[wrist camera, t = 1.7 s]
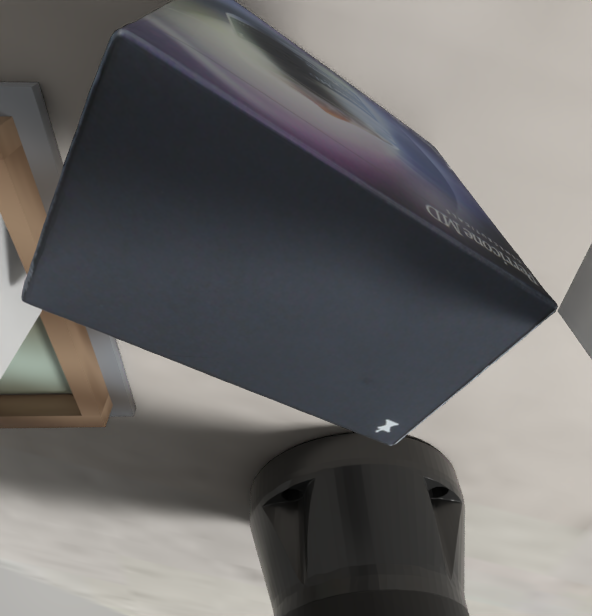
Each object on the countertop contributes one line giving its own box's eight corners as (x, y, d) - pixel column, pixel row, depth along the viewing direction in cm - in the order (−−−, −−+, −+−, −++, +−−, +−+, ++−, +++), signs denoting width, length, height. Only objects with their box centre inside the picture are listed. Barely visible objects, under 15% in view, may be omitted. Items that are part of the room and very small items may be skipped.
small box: (448, 141, 18) (584, 310, 10) (349, 260, 22) (393, 457, 14) (203, -37, 15) (110, 5, 6) (130, 140, 18) (8, 314, 10)
